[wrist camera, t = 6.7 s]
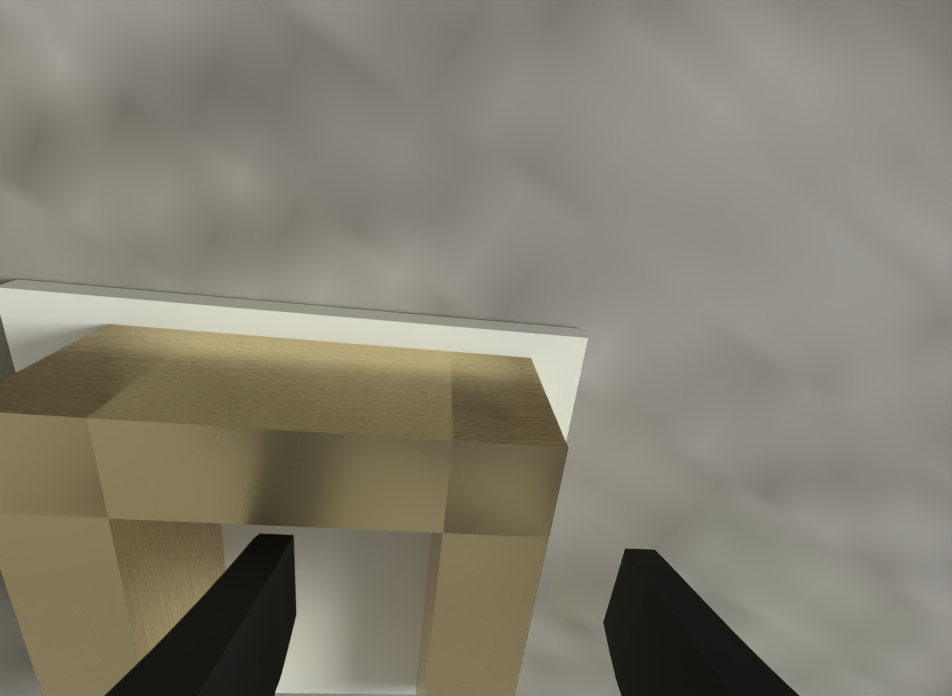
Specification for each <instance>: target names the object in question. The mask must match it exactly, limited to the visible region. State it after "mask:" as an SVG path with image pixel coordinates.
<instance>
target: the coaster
mask: <svg viewBox="0 0 952 696" xmlns="http://www.w3.org/2000/svg"><path fill="white" fill-rule="evenodd" d="M0 315H1V319H2V323H3V327H4V330H5V334H6V338H7V342H8V345H9V349H10V353H11V357H12V361H13V364H14V368H15V372H18V371H20V370H22V369H24V368H26V367H27V366H29V365H31V364H33V363H35V362H37V361H39V360H41V359H43V358H44V357H46V356H48V355H50V354H52V353H54V352H56V351H58V350H60V349H61V348H63V347H65V346H67V345H69V344H71V343H73V342H75V341H77V340H78V339H80V338H82V337H84V336H86V335H88V334H90V333H92V332H94V331H95V330H97V329H99V328H101V327H103V326H105V325H107V324H115V325H128V326H140V327H153V328H165V329H178V330H190V331H202V332H215V333H227V334H240V335H252V336H265V337H277V338H290V339H302V340H314V341H327V342H339V343H352V344H364V345H377V346H389V347H402V348H414V349H426V350H439V351H451V352H464V353H476V354H489V355H501V356H514V357H526V358H531V359H532V361H533V364H534V366H535V369H536V371H537V373H538V376H539V378H540V381H541V383H542V385H543V388H544V390H545V393H546V395H547V398H548V400H549V402H550V405H551V407H552V410H553V412H554V414H555V417H556V419H557V422H558V424H559V426H560V429H561V431H562V434H563V436H564V438H565V441H566V439H567V434H568V430H569V425H570V420H571V416H572V411H573V406H574V402H575V397H576V392H577V388H578V383H579V378H580V374H581V369H582V364H583V360H584V355H585V350H586V346H587V341H588V337H587V336H586V335H585V333H584V332H583V331H582V329H579V328H568V327H556V326H545V325H534V324H522V323H511V322H499V321H488V320H477V319H465V318H454V317H442V316H431V315H419V314H408V313H397V312H385V311H374V310H362V309H351V308H340V307H328V306H317V305H305V304H294V303H283V302H271V301H260V300H248V299H237V298H225V297H214V296H203V295H191V294H180V293H168V292H157V291H146V290H134V289H123V288H111V287H100V286H89V285H77V284H66V283H54V282H43V281H31V280H20V279H17V280H14V281H11V282H7V283H4V284H1V285H0ZM221 531H222V540H223V550H224V559H225V569H226V570H227V568H228V567H229V566H230V565H231V564H232V563H233V562H234V560H235V559H236V558H237V557H238V556H239V555H240V553H241V552H242V551H243V550H244V549H245V548H246V546H247V545H248V544H249V543H250V542H251V541H252V539H253V538H254V537H256V536H257V535H258V534H260V533H263V534H287V535H294V555H295V584H296V613H297V615H296V619H295V623H294V627H293V631H292V635H291V639H290V643H289V648H288V651H287V655H286V659H285V663H284V667H283V671H282V675H281V678H280V681H279V683H278V686H277V689H276V692H275V693H327V694H416V684H417V675H418V665H419V655H420V645H421V635H422V625H423V615H424V605H425V596H426V586H427V576H428V566H429V556H430V546H431V536H432V532H409V531H386V530H362V529H339V528H316V527H292V526H269V525H246V524H223V523H221Z"/></svg>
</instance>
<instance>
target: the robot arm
mask: <svg viewBox="0 0 952 696" xmlns="http://www.w3.org/2000/svg"><path fill="white" fill-rule="evenodd" d="M296 615H297V613H296V584H295V555H294V535H287V534H263V533H260V534H258V535H257V536H256V537H254V538H253V539H252V541H251V542H250V543H249V544H248V545H247V546H246V548H245V549H244V550H243V551H242V552H241V553H240V555H239V556H238V557H237V558H236V559H235V560H234V562H233V563H232V564H231V565H230V566H229V567H228V568H227V570H226V571H225V572H224V573H223V574H222V575H221V576H220V577H219V579H218V580H217V581H216V582H215V583H214V584H213V585H212V586H211V587H210V588H209V590H208V591H207V592H206V593H205V594H204V595H203V596H202V597H201V598H200V599H199V601H198V602H197V603H196V604H195V605H194V606H193V607H192V608H191V609H190V610H189V611H188V612H187V613H186V614H185V615H184V616H183V617H182V618H181V620H180V621H179V622H178V623H177V624H176V625H175V626H174V627H173V628H172V629H171V630H170V631H169V632H168V633H167V634H166V635H165V636H164V637H163V638H162V639H161V640H160V641H159V643H158V644H157V645H156V646H155V647H154V648H153V649H152V650H151V651H150V652H149V653H148V654H147V655H145V656H144V657H143V658H142V659H141V660H140V661H139V662H138V663H137V664H136V665H135V666H134V667H133V668H132V669H131V670H130V671H129V672H128V673H127V674H126V675H125V676H124V677H123V678H122V679H121V680H120V681H119V682H118V683H117V684H116V685H115V686H114V687H113V688H112V689H111V690H110V691H109V692H107V693H106V694H105V695H104V696H274V695H275V692H276V689H277V686H278V683H279V681H280V678H281V675H282V671H283V667H284V663H285V659H286V655H287V651H288V648H289V643H290V639H291V635H292V631H293V627H294V623H295V619H296ZM603 623H604V628H605V632H606V637H607V642H608V646H609V651H610V656H611V660H612V664H613V668H614V672H615V677H616V680H617V684H618V687H619V690H620V693H621V696H799V695H798V694H797V693H796V692H795V691H794V690H793V689H791V688H790V687H789V686H788V685H787V684H786V683H785V682H784V681H783V680H782V679H781V678H780V677H779V676H778V675H777V674H776V673H775V672H774V671H773V670H772V669H771V668H769V667H768V666H767V665H766V664H765V663H764V662H763V661H762V660H761V659H760V658H759V657H758V656H757V655H756V654H755V653H754V652H753V651H752V650H751V649H750V648H749V647H748V646H747V645H746V644H745V643H744V642H743V641H742V640H741V639H740V638H739V637H738V636H737V635H736V634H735V633H734V632H733V631H732V630H731V629H730V628H729V626H728V625H727V624H726V623H725V622H724V621H723V620H722V619H721V618H720V617H719V616H718V615H717V614H716V613H715V612H714V611H713V610H712V609H711V608H710V607H709V606H708V605H707V604H706V603H705V601H704V600H703V599H702V598H701V597H700V596H699V595H698V594H697V593H696V592H695V591H694V590H693V589H692V588H691V587H690V586H689V585H688V584H687V583H686V581H685V580H684V579H683V578H682V577H681V576H680V575H679V574H678V573H677V572H676V571H675V570H674V569H673V568H672V567H671V566H670V565H669V564H668V563H667V562H666V561H665V559H664V558H663V557H662V556H661V555H660V554H659V553H658V552H657V551H656V550H648V549H625V551H624V555H623V558H622V561H621V565H620V568H619V571H618V575H617V578H616V582H615V585H614V588H613V592H612V595H611V599H610V602H609V605H608V609H607V612H606V615H605V619H604V622H603Z"/></svg>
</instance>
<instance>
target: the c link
mask: <svg viewBox="0 0 952 696" xmlns="http://www.w3.org/2000/svg"><path fill="white" fill-rule="evenodd" d="M567 452H568V446H567V443H566V441H565V438H564V436H563V434H562V431H561V429H560V426H559V424H558V422H557V419H556V417H555V414H554V412H553V410H552V407H551V405H550V402H549V400H548V398H547V395H546V393H545V390H544V388H543V385H542V383H541V381H540V378H539V376H538V373H537V371H536V369H535V366H534V364H533V361H532V359H531V358H526V357H514V356H501V355H489V354H476V353H464V352H451V351H439V350H426V349H414V348H402V347H389V346H377V345H364V344H352V343H339V342H327V341H314V340H302V339H290V338H277V337H265V336H252V335H240V334H227V333H215V332H202V331H190V330H178V329H165V328H153V327H140V326H128V325H115V324H107V325H105V326H103V327H101V328H99V329H97V330H95V331H94V332H92V333H90V334H88V335H86V336H84V337H82V338H80V339H78V340H77V341H75V342H73V343H71V344H69V345H67V346H65V347H63V348H61V349H60V350H58V351H56V352H54V353H52V354H50V355H48V356H46V357H44V358H43V359H41V360H39V361H37V362H35V363H33V364H31V365H29V366H27V367H26V368H24V369H22V370H20V371H18V372H16V373H14V374H12V375H10V376H9V377H7V378H5V379H3V380H1V381H0V570H1V573H2V576H3V579H4V582H5V585H6V588H7V591H8V594H9V597H10V600H11V603H12V606H13V609H14V612H15V615H16V618H17V621H18V624H19V627H20V630H21V633H22V636H23V639H24V642H25V645H26V648H27V651H28V654H29V657H30V660H31V663H32V666H33V669H34V672H35V675H36V678H37V681H38V684H39V687H40V690H41V693H42V696H104V695H105V694H106V693H107V692H109V691H110V690H111V689H112V688H113V687H114V686H115V685H116V684H117V683H118V682H119V681H120V680H121V679H122V678H123V677H124V676H125V675H126V674H127V673H128V672H129V671H130V670H131V669H132V668H133V667H134V666H135V665H136V664H137V663H138V662H139V661H140V660H141V659H142V658H143V657H144V656H145V655H147V654H148V653H149V652H150V651H151V650H152V649H153V648H154V647H155V646H156V645H157V644H158V643H159V641H160V640H161V639H162V638H163V637H164V636H165V635H166V634H167V633H168V632H169V631H170V630H171V629H172V628H173V627H174V626H175V625H176V624H177V623H178V622H179V621H180V620H181V618H182V617H183V616H184V615H185V614H186V613H187V612H188V611H189V610H190V609H191V608H192V607H193V606H194V605H195V604H196V603H197V602H198V601H199V599H200V598H201V597H202V596H203V595H204V594H205V593H206V592H207V591H208V590H209V588H210V587H211V586H212V585H213V584H214V583H215V582H216V581H217V580H218V579H219V577H220V576H221V575H222V574H223V573H224V572H225V571H226V569H225V559H224V550H223V540H222V531H221V523H223V524H246V525H269V526H292V527H316V528H339V529H362V530H386V531H409V532H432V536H431V546H430V556H429V566H428V576H427V586H426V596H425V605H424V615H423V625H422V635H421V645H420V655H419V665H418V675H417V684H416V696H515V691H516V687H517V682H518V678H519V673H520V668H521V664H522V659H523V654H524V650H525V645H526V641H527V636H528V631H529V627H530V622H531V618H532V613H533V608H534V604H535V599H536V595H537V590H538V585H539V581H540V576H541V572H542V567H543V562H544V558H545V553H546V549H547V544H548V539H549V535H550V530H551V526H552V521H553V516H554V512H555V507H556V503H557V498H558V493H559V489H560V484H561V480H562V475H563V470H564V466H565V461H566V457H567Z"/></svg>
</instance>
